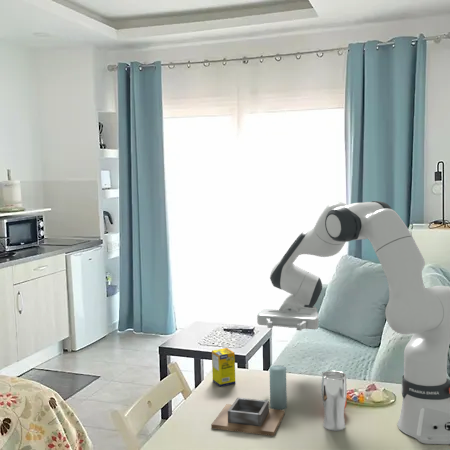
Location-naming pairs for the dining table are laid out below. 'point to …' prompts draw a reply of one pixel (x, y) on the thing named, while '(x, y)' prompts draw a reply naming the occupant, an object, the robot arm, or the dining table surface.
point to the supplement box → (223, 366)
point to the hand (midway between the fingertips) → (284, 326)
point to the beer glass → (334, 399)
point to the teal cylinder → (278, 387)
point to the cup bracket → (249, 417)
